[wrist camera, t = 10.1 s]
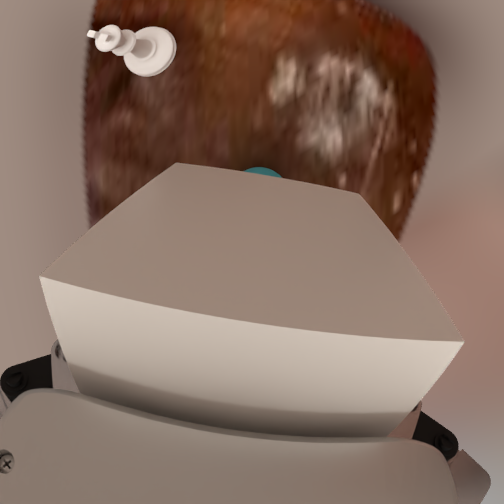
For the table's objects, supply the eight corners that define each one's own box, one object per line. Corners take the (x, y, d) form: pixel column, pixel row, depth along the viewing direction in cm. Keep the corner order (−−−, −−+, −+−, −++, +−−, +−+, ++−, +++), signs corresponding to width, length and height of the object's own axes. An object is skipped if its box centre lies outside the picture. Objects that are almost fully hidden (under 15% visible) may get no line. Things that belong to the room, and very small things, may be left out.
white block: (303, 358, 17) (311, 500, 9) (171, 337, 17) (124, 473, 9) (359, 193, 12) (464, 341, 4) (176, 162, 12) (38, 276, 4)
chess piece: (141, 21, 20) (82, -5, 11) (186, 36, 21) (141, 6, 12) (117, 67, 22) (51, 61, 13) (161, 83, 23) (105, 79, 14)
